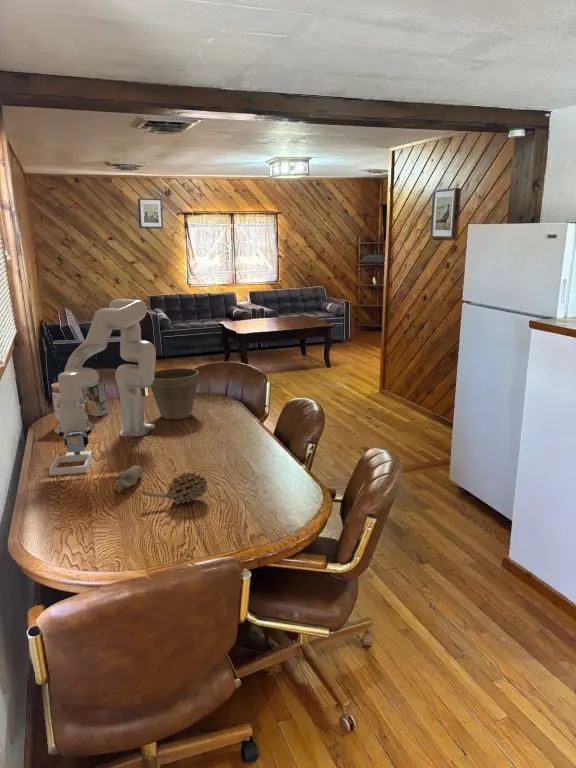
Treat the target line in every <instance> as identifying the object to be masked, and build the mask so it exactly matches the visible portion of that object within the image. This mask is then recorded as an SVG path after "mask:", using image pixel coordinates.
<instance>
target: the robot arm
mask: <svg viewBox="0 0 576 768" xmlns="http://www.w3.org/2000/svg"><path fill="white" fill-rule="evenodd" d="M147 309H148V307H147V305H146V304H145V302H144V301H142V300H139V299H128V298H117V299H112V300H111V301H110V303H109V307H108V308H107V307H103V308H100V309H98V310H96V311H95V314H94V316H93V317H92V318H93V319H92V321H91V324H90V327H89V330H88V331H87V332H88V333H87V336H86V338H85V339H84V341H83V342H82V343H81V344H79V346H78V347H77V348H75V350H74V351H72V353H71V355H70V356H69V358H68V360H67V362H66V364H65V367H64V372H60V373H59V374H58V375H57V383H59V391H60V398H61V405H62V406H61V407H60V424H59V425H58V426H57V425H56V427H55V428H54V431H53V432H55V433H56V434H58V435H59V436H60V437H61V438H62V439H63V440H64V446H66V449H68V447H67V440H66V438H67V436H68V434H69V433H74V432H82V433H83V435H84V438H83V440H84V447H86V448H87V446H88V445H89V443H90V442H89V435H90V434H91V433H92V432H93V431H94V430H95V428H96V425H95V424H93V423H92V422H91V421H89V416H87V412H86V407H85V403H86V400H85V399H84V398H83V399H82V397H81V392H80V389H81V388H82V389H83V388H86V387H92V386H94V385H95V384H97V382H99V380H100V374H99V372H98V371H97V370H96V369H94V368H91V367H83V365H84V364H85V362H86V361H87V360H88V359H89V358H90V357H92V356H94V355H96V354H97V353H100V352H102V351H104V350H106V349H107V347H108V343H109V340H110V338H111V336H112V332H113V330H119V331H120V343H119V344H120V348H119V352H120V353H119V355H120V358H122V359H123V360H124V361H127V362H134V363H138V364H130V363H129V364H128V363H126V364H120V365H119V366H118V367H117V368H116V371H115V382H116V384H117V388H118V392H119V393H118V394H119V403H120V413H121V422H122V423H121V424H122V429H121V430H119V435H120V436H121V437H132V436H133V438H137V437H138V438H139V437H142V436H145V435H148V434H149V430H150V429H151V430H152V429H153V430H155V429H156V427H155V426H156V425H155V424H153V423H147V422H146V420H145V418H144V416H145V415H144V405H143V404H144V403H143V393H142V390H141V388H142V389H146V388H151V387H150V386H151V385H152V384H153V381H154V377H155V371H156V358H157V357H156V356H157V355H156V354H157V352H156V348H155V346H154V344H153V343H152V342H151V341H148V340H142V328H141V325H140V321H141V320H143V319H144V318H145V316H146V315H147V312H148V310H147ZM83 403H84V404H83ZM88 427H89V429H88Z"/></svg>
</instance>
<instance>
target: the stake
mask: <svg viewBox="0 0 576 768" xmlns="http://www.w3.org/2000/svg"><path fill="white" fill-rule="evenodd" d="M92 452H93V450H84V451H79V452H68V451H67V452H65V455H64V456H68V455H82V454H93V453H92Z"/></svg>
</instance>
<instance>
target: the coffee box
mask: <svg viewBox="0 0 576 768" xmlns="http://www.w3.org/2000/svg"><path fill="white" fill-rule="evenodd" d="M106 389H107V388H106V382H99V381H98V382H97V384H95V385H94V386H92V387H86V388H82V391H83V400H86V403H84V405H85V408H86V412H87V415H94V416H93V417H97V416H102V417H104V416H106V415H108V414H109V408H108V399H107V398H108V397H107V390H106ZM107 413H108V414H107ZM105 414H106V415H105ZM103 415H104V416H103Z"/></svg>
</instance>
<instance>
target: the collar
mask: <svg viewBox="0 0 576 768" xmlns="http://www.w3.org/2000/svg"><path fill="white" fill-rule="evenodd" d="M83 438H84V435H83V433H82V432H81V431H77V432H68V436H67V438H66V440H67V446H66V448H67V447H68V448H67V453H68V452H79V451H80V452H82V451H86V448H87V446H86V447H84V440H83Z"/></svg>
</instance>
